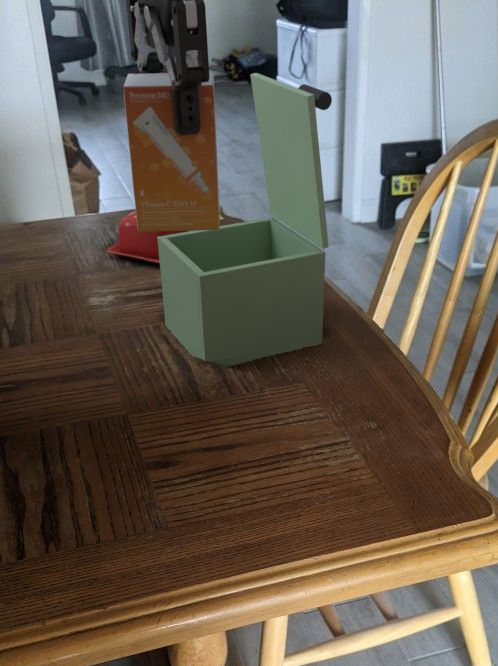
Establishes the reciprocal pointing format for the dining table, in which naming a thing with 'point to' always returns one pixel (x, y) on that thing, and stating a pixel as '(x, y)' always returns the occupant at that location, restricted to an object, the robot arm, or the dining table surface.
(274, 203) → the lid
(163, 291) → the chest
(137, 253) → the butter dish
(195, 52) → the robot arm
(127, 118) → the small box
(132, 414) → the dining table surface
